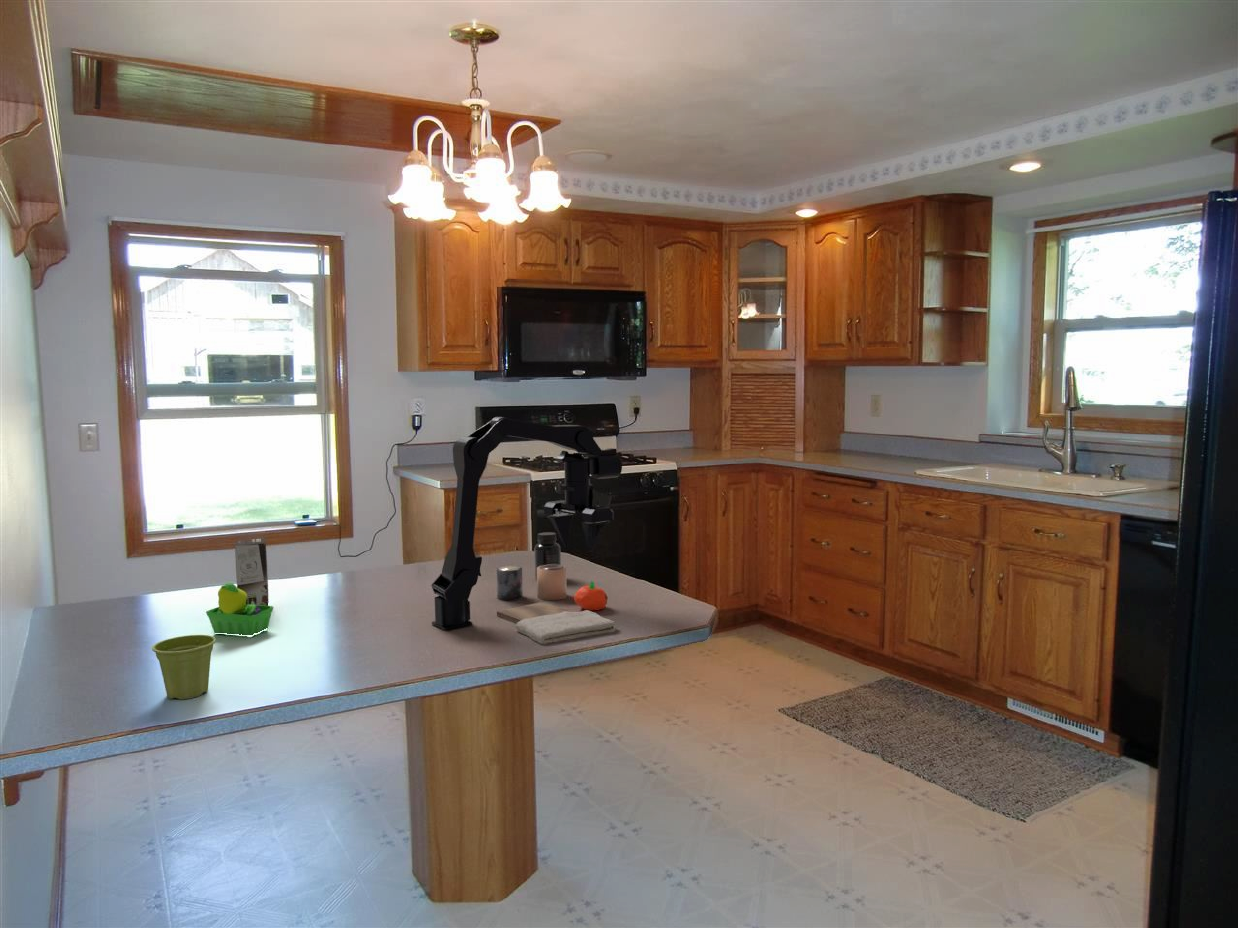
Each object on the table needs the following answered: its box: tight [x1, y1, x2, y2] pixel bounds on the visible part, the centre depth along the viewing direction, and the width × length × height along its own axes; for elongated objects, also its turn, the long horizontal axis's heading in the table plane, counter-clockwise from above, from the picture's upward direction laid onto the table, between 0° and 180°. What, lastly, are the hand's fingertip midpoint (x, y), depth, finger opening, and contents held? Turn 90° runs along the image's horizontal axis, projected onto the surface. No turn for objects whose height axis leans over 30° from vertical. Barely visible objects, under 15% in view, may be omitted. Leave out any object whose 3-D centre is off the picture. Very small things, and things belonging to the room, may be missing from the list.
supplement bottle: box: [533, 531, 562, 581], centre depth 223 cm, size 7×7×12 cm
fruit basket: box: [205, 582, 275, 635], centre depth 176 cm, size 11×9×11 cm
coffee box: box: [234, 537, 269, 606], centre depth 194 cm, size 9×6×16 cm
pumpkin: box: [573, 581, 608, 611], centre depth 193 cm, size 7×8×6 cm
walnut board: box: [496, 601, 572, 624], centre depth 187 cm, size 12×12×1 cm
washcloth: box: [515, 609, 616, 645], centre depth 176 cm, size 12×18×3 cm, turn 122°
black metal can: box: [496, 565, 524, 602], centre depth 204 cm, size 6×6×7 cm
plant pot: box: [151, 634, 216, 700], centre depth 142 cm, size 9×9×9 cm
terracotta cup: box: [536, 564, 568, 601], centre depth 205 cm, size 7×7×7 cm
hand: (578, 548), depth 196 cm, fingers open, 9 cm apart
